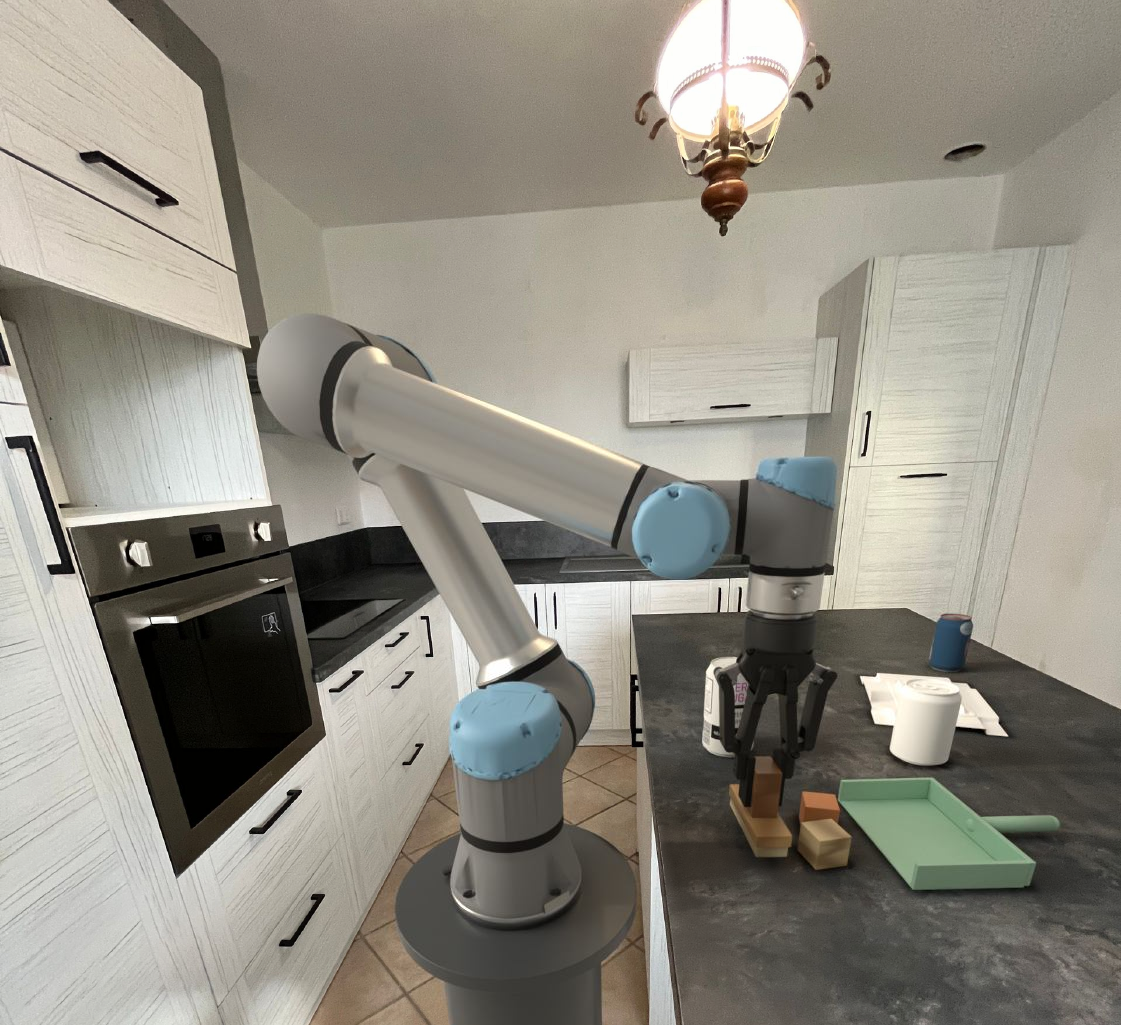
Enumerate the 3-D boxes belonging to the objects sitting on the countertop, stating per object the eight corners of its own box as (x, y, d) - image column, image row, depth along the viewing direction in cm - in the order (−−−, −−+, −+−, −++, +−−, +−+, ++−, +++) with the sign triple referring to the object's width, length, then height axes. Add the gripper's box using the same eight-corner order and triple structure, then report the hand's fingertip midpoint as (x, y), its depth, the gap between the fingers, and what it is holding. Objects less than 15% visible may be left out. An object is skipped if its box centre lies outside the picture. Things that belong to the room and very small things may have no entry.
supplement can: (724, 734, 104) (730, 652, 99) (763, 750, 98) (771, 664, 92) (691, 746, 100) (696, 662, 95) (730, 763, 94) (736, 674, 88)
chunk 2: (815, 870, 68) (819, 841, 67) (797, 850, 72) (800, 822, 70) (847, 865, 69) (852, 836, 67) (827, 846, 72) (831, 818, 71)
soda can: (970, 672, 130) (982, 619, 125) (938, 673, 130) (948, 620, 126) (952, 663, 136) (963, 612, 132) (921, 664, 137) (931, 613, 132)
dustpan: (913, 890, 65) (918, 865, 63) (837, 799, 82) (840, 779, 81) (1122, 885, 64) (1131, 860, 63) (1000, 795, 82) (1006, 775, 81)
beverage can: (944, 773, 88) (961, 699, 84) (884, 760, 93) (897, 688, 89) (950, 753, 94) (966, 683, 90) (893, 741, 99) (906, 674, 95)
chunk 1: (801, 833, 75) (805, 806, 74) (798, 817, 79) (802, 791, 77) (835, 837, 74) (840, 810, 73) (831, 820, 78) (835, 794, 76)
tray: (966, 683, 124) (970, 666, 122) (1008, 742, 100) (1014, 722, 98) (858, 675, 130) (861, 660, 129) (873, 729, 106) (877, 710, 105)
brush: (754, 858, 68) (762, 790, 64) (727, 803, 79) (733, 743, 76) (789, 858, 68) (799, 789, 64) (757, 803, 79) (764, 742, 76)
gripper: (714, 621, 60) (700, 818, 68) (873, 618, 60) (839, 816, 68) (699, 605, 67) (687, 786, 75) (841, 602, 67) (813, 784, 75)
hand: (759, 800), depth 72 cm, fingers closed on brush, 3 cm apart
